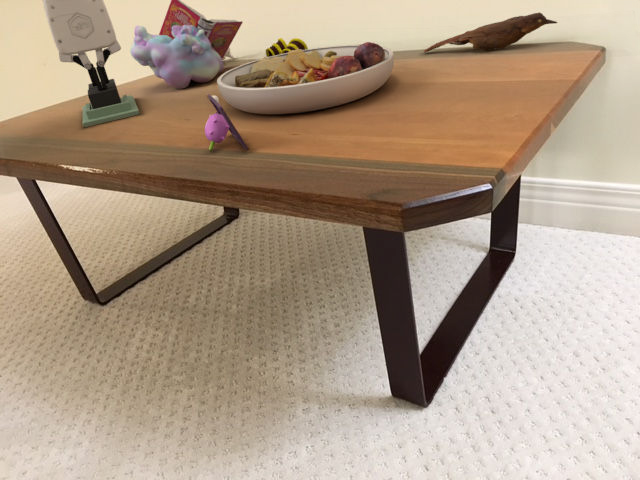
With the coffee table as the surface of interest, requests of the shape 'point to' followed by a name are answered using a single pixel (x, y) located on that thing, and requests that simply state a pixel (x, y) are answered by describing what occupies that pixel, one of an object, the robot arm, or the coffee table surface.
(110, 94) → the gripped black block
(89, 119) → the dock
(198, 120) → the coffee table surface
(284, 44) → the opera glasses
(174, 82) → the marbled pastel blob
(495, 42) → the bird sculpture
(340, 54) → the bowl
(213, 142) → the purple panel with bulb
